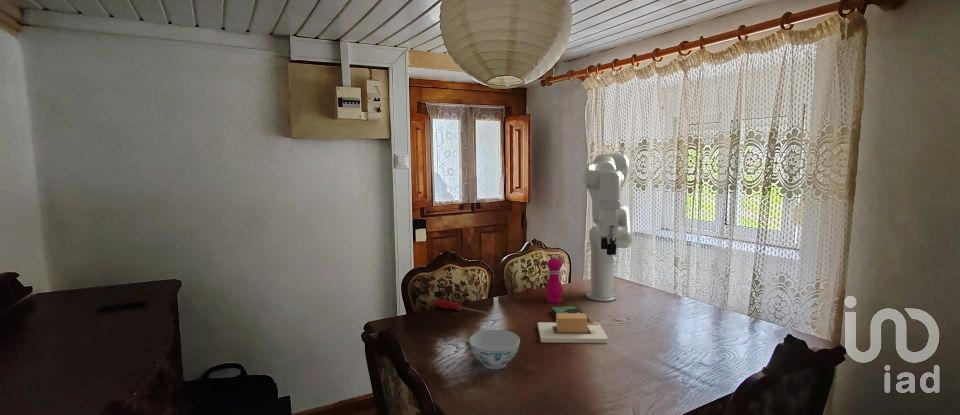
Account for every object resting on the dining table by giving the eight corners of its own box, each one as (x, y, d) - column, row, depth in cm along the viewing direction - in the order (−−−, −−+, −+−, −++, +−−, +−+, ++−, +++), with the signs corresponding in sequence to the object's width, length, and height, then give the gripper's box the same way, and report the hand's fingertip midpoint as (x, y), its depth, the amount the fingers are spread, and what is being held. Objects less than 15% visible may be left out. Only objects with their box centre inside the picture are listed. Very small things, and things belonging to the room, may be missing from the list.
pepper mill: (564, 303, 187) (564, 256, 185) (546, 303, 187) (547, 256, 185) (561, 298, 194) (561, 252, 192) (544, 298, 194) (544, 253, 192)
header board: (537, 326, 162) (537, 315, 162) (599, 326, 161) (599, 315, 161) (541, 342, 148) (541, 330, 148) (608, 343, 147) (608, 331, 147)
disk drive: (589, 325, 164) (575, 311, 178) (590, 318, 164) (575, 304, 178) (562, 327, 162) (550, 313, 177) (562, 320, 162) (550, 306, 177)
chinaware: (462, 358, 137) (461, 334, 136) (505, 349, 143) (505, 326, 142) (481, 380, 124) (481, 354, 123) (529, 369, 130) (529, 344, 129)
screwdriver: (484, 318, 171) (484, 309, 170) (433, 307, 184) (433, 299, 184) (489, 316, 174) (489, 307, 173) (439, 304, 187) (438, 296, 187)
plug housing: (556, 326, 157) (556, 313, 157) (597, 327, 157) (597, 313, 156) (557, 332, 152) (557, 318, 152) (600, 332, 152) (600, 318, 151)
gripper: (594, 203, 171) (593, 247, 173) (604, 208, 153) (602, 257, 155) (613, 202, 170) (612, 247, 172) (626, 208, 153) (624, 257, 155)
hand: (608, 251), depth 164 cm, fingers open, 9 cm apart
